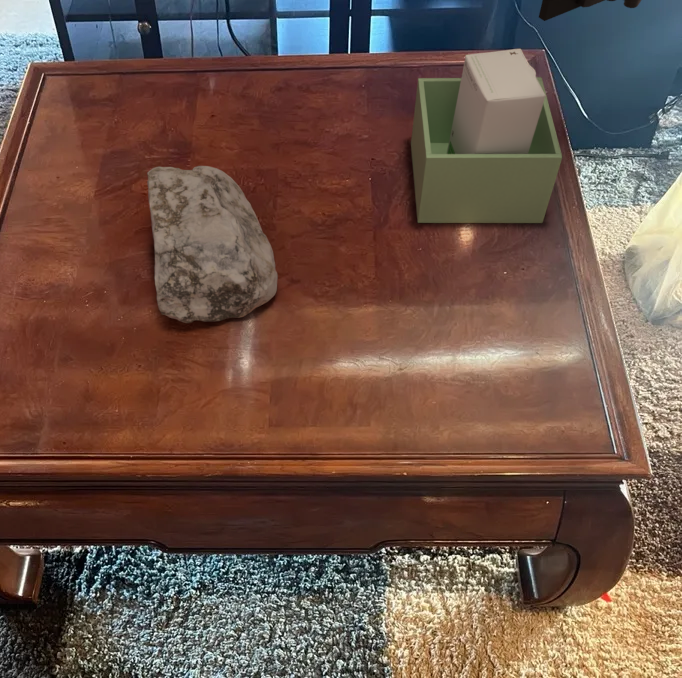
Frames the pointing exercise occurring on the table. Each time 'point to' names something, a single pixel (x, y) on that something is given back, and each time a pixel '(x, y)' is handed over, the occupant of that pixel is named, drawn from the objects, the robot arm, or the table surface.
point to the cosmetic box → (496, 105)
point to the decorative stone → (207, 246)
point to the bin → (477, 166)
